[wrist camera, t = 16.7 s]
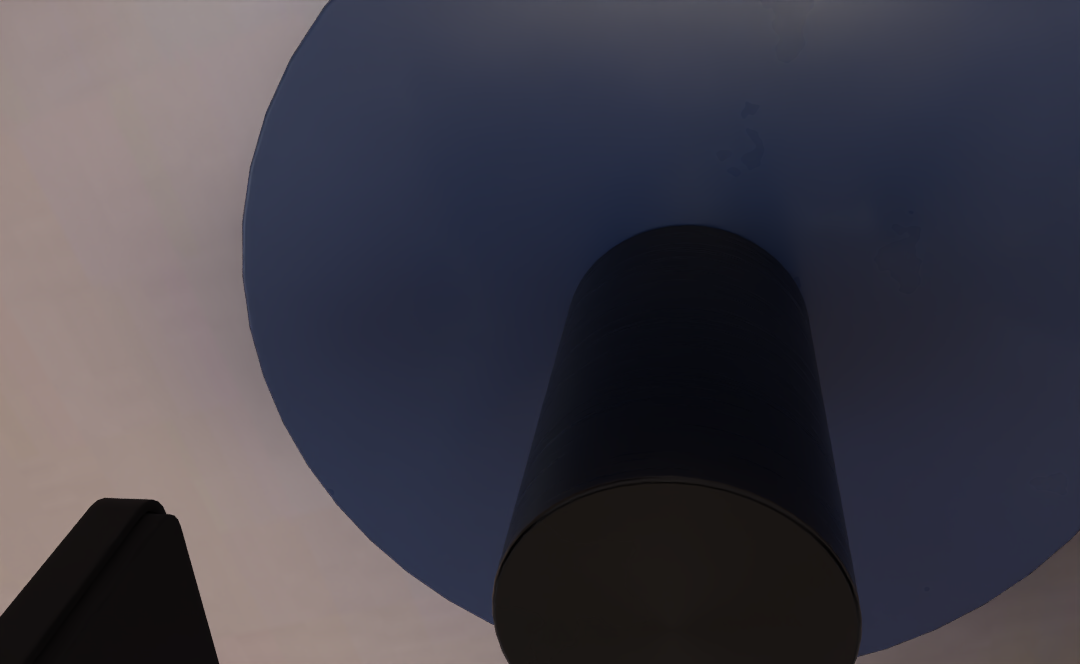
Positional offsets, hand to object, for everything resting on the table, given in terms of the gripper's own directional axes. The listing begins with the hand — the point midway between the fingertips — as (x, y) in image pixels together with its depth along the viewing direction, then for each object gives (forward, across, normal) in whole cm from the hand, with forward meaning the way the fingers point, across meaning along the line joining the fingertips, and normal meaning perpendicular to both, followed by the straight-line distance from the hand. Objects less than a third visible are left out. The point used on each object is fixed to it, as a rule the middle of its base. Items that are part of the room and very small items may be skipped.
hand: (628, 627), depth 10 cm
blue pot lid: (+7, 0, 0) cm, 7 cm away
